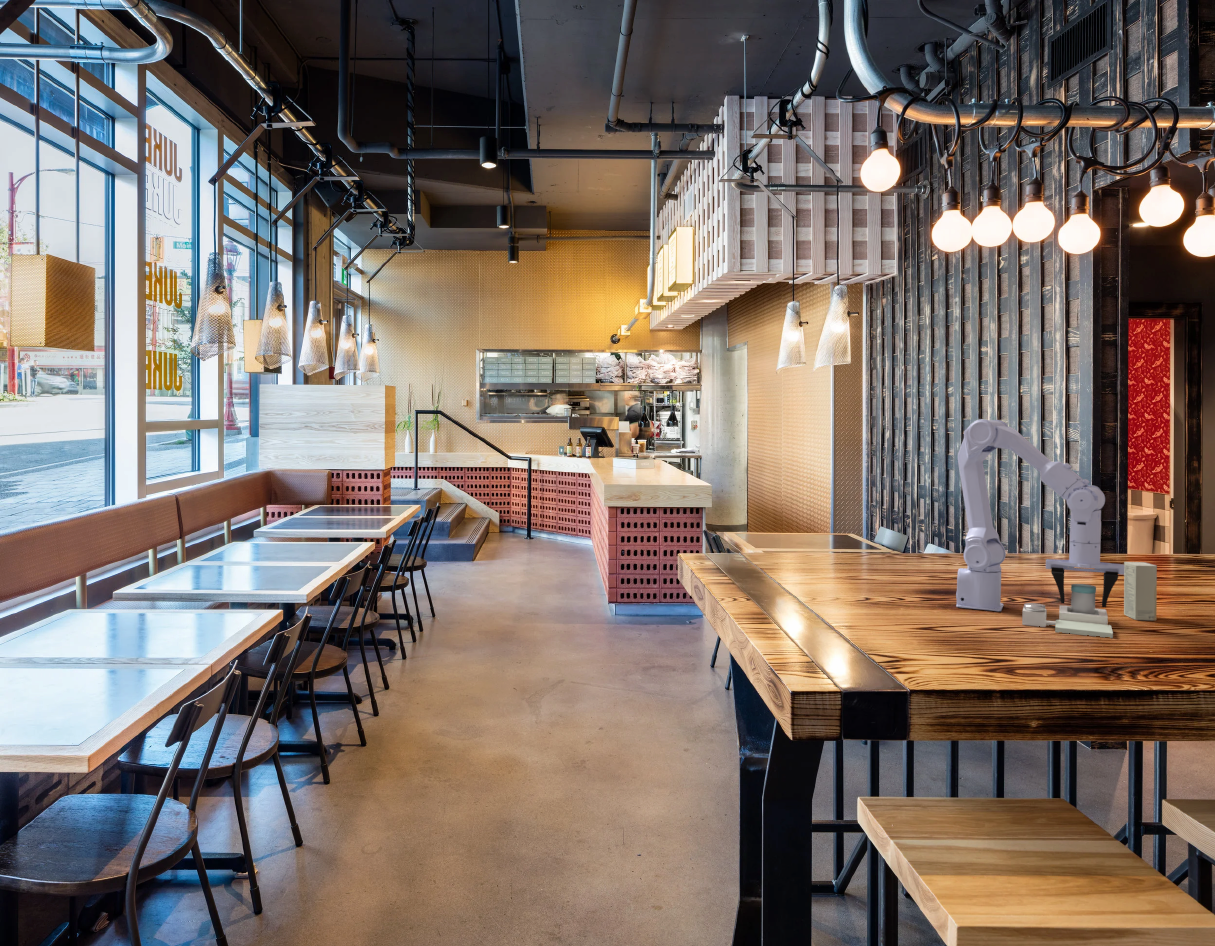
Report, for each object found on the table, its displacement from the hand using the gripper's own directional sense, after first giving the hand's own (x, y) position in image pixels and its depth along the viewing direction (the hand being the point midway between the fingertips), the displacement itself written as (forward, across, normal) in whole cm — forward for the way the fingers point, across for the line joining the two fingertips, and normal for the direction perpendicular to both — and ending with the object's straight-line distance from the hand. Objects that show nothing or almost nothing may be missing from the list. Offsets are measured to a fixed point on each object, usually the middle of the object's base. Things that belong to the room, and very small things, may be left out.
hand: (1083, 604), depth 172 cm
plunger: (+3, -9, -7) cm, 12 cm away
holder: (+4, -3, -2) cm, 6 cm away
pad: (+4, 0, -9) cm, 10 cm away
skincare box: (+4, +11, +12) cm, 17 cm away
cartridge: (+4, 0, 0) cm, 4 cm away
